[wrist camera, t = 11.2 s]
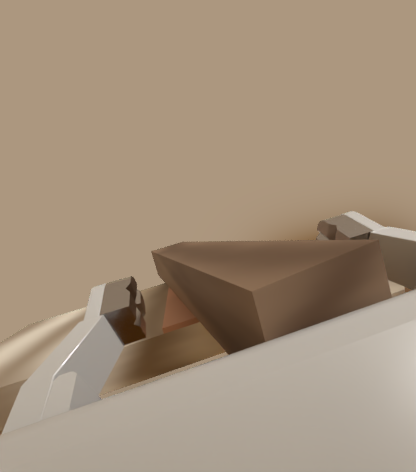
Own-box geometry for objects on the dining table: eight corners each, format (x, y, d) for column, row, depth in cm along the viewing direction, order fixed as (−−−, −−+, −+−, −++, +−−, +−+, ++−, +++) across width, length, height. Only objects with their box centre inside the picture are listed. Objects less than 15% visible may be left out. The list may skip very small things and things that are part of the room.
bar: (189, 264, 29) (182, 241, 29) (402, 344, 6) (378, 239, 6) (158, 275, 28) (151, 251, 28) (286, 419, 5) (251, 291, 5)
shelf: (348, 456, 27) (294, 241, 25) (482, 635, 15) (396, 252, 14) (108, 560, 24) (27, 321, 22) (39, 891, 12) (-146, 428, 10)
